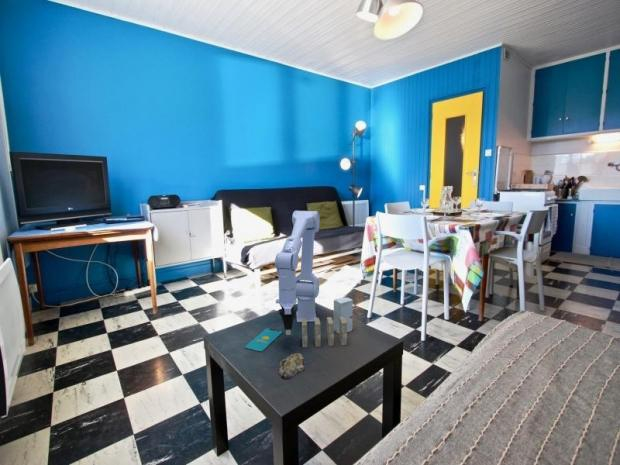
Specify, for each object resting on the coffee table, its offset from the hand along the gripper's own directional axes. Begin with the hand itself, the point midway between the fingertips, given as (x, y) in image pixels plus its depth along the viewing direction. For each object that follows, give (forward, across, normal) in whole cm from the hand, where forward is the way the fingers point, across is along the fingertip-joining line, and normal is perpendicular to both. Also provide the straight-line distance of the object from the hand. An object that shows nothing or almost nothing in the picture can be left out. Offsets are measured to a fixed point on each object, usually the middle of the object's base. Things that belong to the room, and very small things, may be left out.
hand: (288, 325), depth 105 cm
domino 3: (+7, 0, +10) cm, 12 cm away
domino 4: (+7, 0, +14) cm, 16 cm away
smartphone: (+7, -4, -8) cm, 12 cm away
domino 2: (+7, 0, +6) cm, 9 cm away
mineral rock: (+7, +14, +1) cm, 16 cm away
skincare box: (+7, -8, +20) cm, 23 cm away
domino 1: (+2, 0, 0) cm, 2 cm away
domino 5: (+7, 0, +19) cm, 20 cm away
